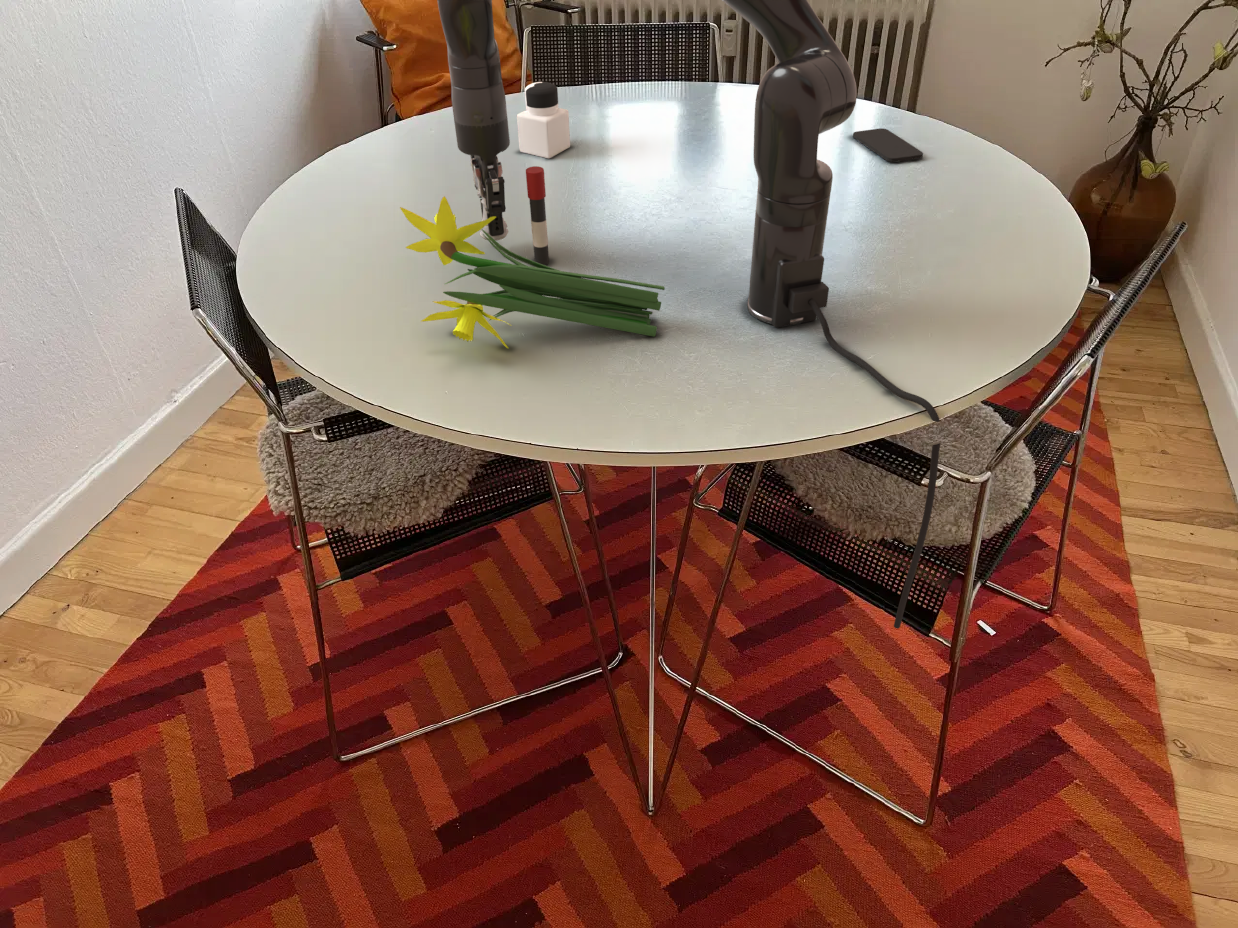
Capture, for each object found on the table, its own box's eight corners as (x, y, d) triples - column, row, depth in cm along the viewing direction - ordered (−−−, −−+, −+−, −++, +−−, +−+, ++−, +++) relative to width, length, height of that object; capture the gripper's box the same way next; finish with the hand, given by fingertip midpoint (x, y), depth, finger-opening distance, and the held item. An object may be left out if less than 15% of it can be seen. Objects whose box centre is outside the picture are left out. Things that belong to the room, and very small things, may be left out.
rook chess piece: (514, 234, 141) (509, 184, 135) (492, 244, 138) (486, 193, 133) (495, 226, 143) (490, 176, 138) (473, 235, 140) (467, 185, 135)
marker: (552, 264, 138) (545, 171, 129) (535, 267, 138) (527, 174, 129) (548, 257, 140) (541, 165, 131) (531, 260, 140) (523, 167, 131)
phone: (885, 127, 178) (926, 154, 167) (884, 132, 179) (925, 158, 168) (850, 132, 177) (889, 159, 166) (850, 136, 177) (889, 163, 166)
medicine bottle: (571, 147, 176) (567, 82, 168) (549, 159, 171) (545, 93, 164) (541, 140, 179) (536, 76, 171) (519, 152, 174) (513, 87, 167)
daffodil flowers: (659, 375, 116) (379, 326, 109) (634, 371, 131) (385, 327, 123) (682, 242, 115) (400, 183, 107) (655, 253, 129) (403, 202, 122)
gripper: (517, 128, 124) (528, 244, 135) (496, 96, 135) (507, 206, 146) (463, 135, 123) (478, 251, 134) (445, 102, 133) (460, 213, 144)
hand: (493, 227), depth 140 cm, fingers closed on rook chess piece, 4 cm apart
